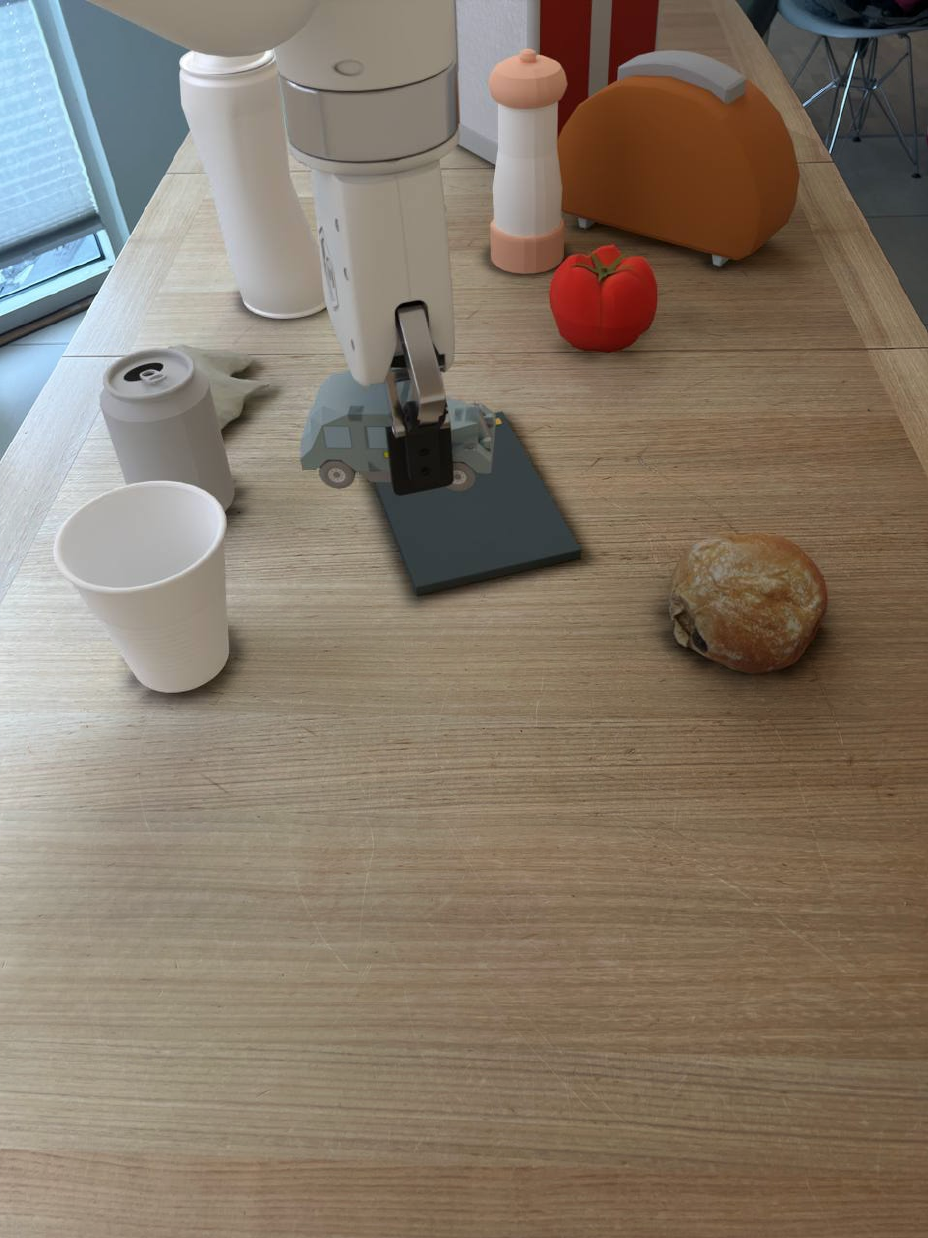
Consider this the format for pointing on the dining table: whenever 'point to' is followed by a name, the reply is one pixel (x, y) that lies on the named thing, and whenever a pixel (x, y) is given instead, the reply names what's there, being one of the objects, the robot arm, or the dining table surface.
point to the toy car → (384, 434)
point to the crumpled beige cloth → (224, 379)
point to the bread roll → (747, 601)
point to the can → (165, 422)
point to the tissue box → (544, 52)
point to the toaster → (681, 156)
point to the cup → (153, 578)
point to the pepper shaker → (527, 164)
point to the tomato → (603, 299)
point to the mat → (479, 523)
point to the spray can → (252, 181)
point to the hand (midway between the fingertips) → (404, 440)
